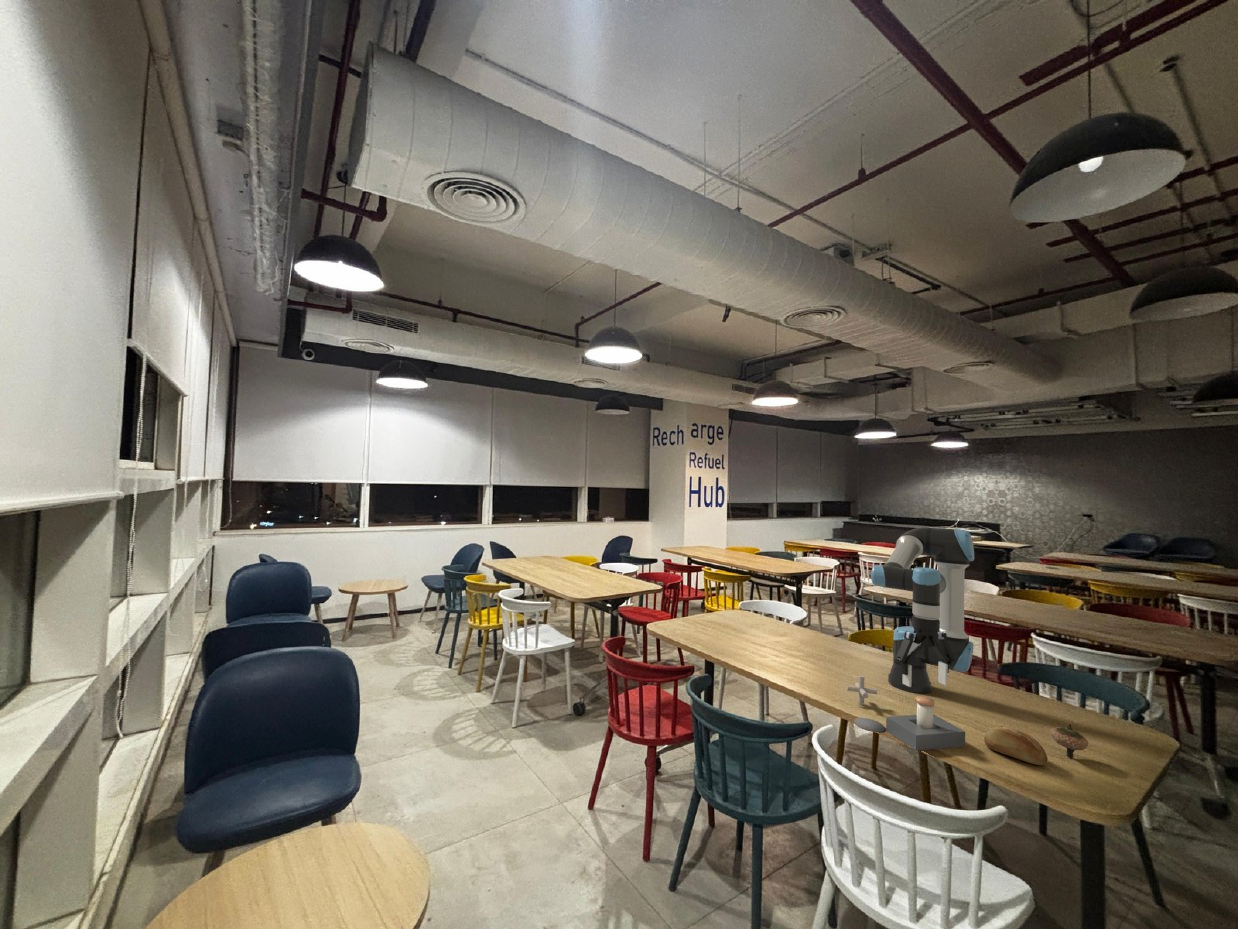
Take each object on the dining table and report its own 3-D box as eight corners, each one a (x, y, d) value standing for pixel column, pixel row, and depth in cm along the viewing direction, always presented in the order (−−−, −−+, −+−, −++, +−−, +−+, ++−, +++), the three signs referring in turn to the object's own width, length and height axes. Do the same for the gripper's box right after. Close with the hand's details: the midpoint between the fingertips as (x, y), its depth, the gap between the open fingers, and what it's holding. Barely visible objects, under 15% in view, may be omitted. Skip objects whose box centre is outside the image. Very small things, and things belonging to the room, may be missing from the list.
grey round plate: (871, 718, 166) (871, 717, 166) (891, 731, 157) (891, 730, 157) (848, 719, 164) (848, 718, 164) (867, 733, 156) (867, 731, 156)
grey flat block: (932, 727, 161) (932, 713, 162) (965, 746, 150) (965, 731, 150) (886, 730, 158) (886, 716, 158) (915, 750, 146) (916, 735, 146)
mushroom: (924, 734, 157) (925, 695, 157) (937, 742, 152) (938, 702, 152) (911, 735, 156) (912, 696, 156) (924, 743, 151) (924, 703, 151)
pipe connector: (880, 712, 172) (880, 683, 172) (850, 708, 174) (850, 679, 174) (871, 700, 181) (872, 673, 182) (843, 696, 183) (843, 669, 184)
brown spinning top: (1047, 755, 147) (1047, 721, 147) (1055, 747, 151) (1055, 715, 152) (1084, 768, 140) (1084, 733, 140) (1091, 760, 145) (1091, 726, 145)
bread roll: (1043, 774, 136) (1043, 745, 136) (979, 750, 148) (979, 724, 148) (1050, 763, 142) (1050, 735, 143) (988, 741, 154) (988, 715, 154)
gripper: (947, 613, 162) (947, 678, 161) (883, 614, 157) (882, 681, 155) (968, 619, 154) (968, 687, 153) (901, 620, 149) (900, 690, 148)
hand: (925, 684), depth 154 cm, fingers open, 13 cm apart
